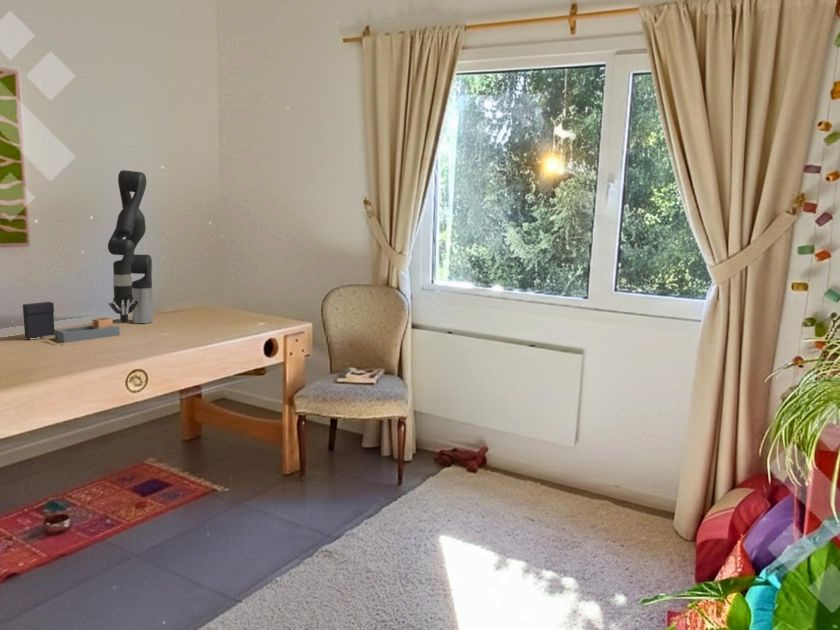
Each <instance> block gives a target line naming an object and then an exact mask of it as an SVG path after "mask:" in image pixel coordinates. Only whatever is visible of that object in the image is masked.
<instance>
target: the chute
mask: <svg viewBox="0 0 840 630" xmlns="http://www.w3.org/2000/svg"><path fill="white" fill-rule="evenodd" d="M54 332H55V335H54V340H57V341H60V342H62V343H64V344H66V343H67V344H68V343H72V342H73V343H75V342H81V341H88V340H89V341H90V340H94V339H102V338H110V337H119V336H120V326H117V325H116V326H113V327H107V328H99V329H93V324H92V325H85V326H74V327H69V328H58V329H54ZM60 344H61V343H60ZM61 346H63V344H61Z"/></svg>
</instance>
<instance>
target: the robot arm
mask: <svg viewBox="0 0 840 630" xmlns="http://www.w3.org/2000/svg"><path fill="white" fill-rule="evenodd" d="M117 181H118V188H119V194H120V200H121V207H122V209H121V210H120V212H119V214H118V216H117V220H116V224H115V229H114V231H113V233H112V234H111V236H110V238H109V240H108V243H107V249H108V252H109V253H110V254H111V255H113V256H122V258H121V259H119V260H114V261H113V263H112V264H113V267H112V268H113V271H112V272H113V279H112V281H113V282H112V283H113V284H112V285H113V299H112V301H111V302H108V306H109V307H110V308H111V309H112V310H113V311H114V313H115V314H118V315H120V318H119V319H120V322H121V323H122V324H127V323H128V321H129V314H130V313H131V315H132V316H131V318H132V323H133V324H137V323H145V324H151V322H152V323H154V307H153V306H154V305H153V281H152V280H153V279H152V272H153V262H152V256H150V255H149V254H135V250H136V248H137V246H138V244H139V242H140V241H141V240H142V238H144V235H145V234H146V230H147V229H146V228H147V227H146V219H145V218H146V217H145V216H144V214H143V212H142V211H141V209H140V205H141V202H142V200H143V197H144V193H145V191H146V187H147V177H146V174H145V173H144V172H141V171H135V170H133V171H132V170H125V169H123V170H120V171H119V172H118V177H117ZM131 193H133V195H131ZM132 274H135V275H138V274H142V275H144V276H143V277H141V278H140V279H137V280H133V279H132ZM117 307H118V308H117Z"/></svg>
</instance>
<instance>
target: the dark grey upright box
mask: <svg viewBox="0 0 840 630" xmlns="http://www.w3.org/2000/svg"><path fill="white" fill-rule="evenodd" d="M54 312H55V305H54V303H53V302H51V301H44V302H33V303H24V304H22V313H23V327H24V328H23V329H24V339H25V338H27V339H30V338H37V337H45V336H46V337H47V336H55V332H54V330H55V317H54V315H55V313H54ZM27 339H26V340H27Z"/></svg>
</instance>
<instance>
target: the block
mask: <svg viewBox="0 0 840 630" xmlns="http://www.w3.org/2000/svg"><path fill="white" fill-rule="evenodd" d="M92 325H93V329H99V328H107V327H114V323H113V319H112V318H109V317H101V318H100V317H99V318H92Z"/></svg>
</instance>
